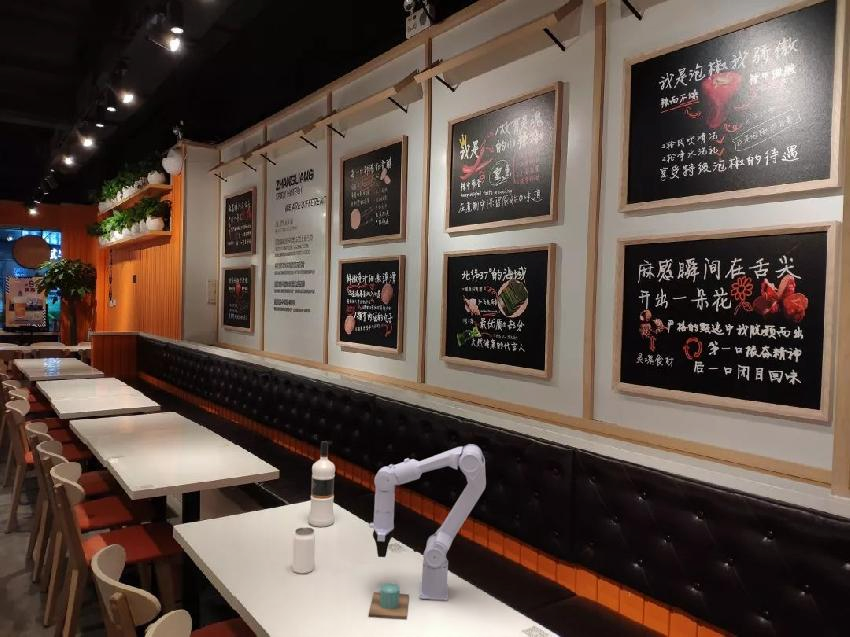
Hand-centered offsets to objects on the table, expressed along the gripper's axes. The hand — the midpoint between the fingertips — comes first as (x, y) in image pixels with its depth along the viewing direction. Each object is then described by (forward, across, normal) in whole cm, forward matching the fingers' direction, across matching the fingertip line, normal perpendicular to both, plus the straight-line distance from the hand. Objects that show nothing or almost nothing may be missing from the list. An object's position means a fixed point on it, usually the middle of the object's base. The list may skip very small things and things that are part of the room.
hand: (381, 556), depth 181 cm
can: (+10, -9, -24) cm, 28 cm away
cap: (+9, +10, +3) cm, 14 cm away
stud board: (+9, +10, +3) cm, 14 cm away
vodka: (+10, -47, -26) cm, 55 cm away
